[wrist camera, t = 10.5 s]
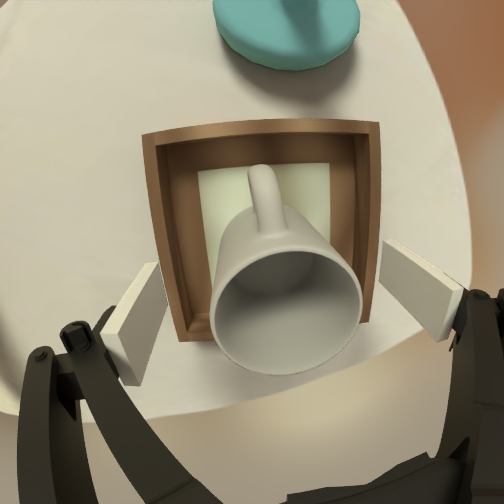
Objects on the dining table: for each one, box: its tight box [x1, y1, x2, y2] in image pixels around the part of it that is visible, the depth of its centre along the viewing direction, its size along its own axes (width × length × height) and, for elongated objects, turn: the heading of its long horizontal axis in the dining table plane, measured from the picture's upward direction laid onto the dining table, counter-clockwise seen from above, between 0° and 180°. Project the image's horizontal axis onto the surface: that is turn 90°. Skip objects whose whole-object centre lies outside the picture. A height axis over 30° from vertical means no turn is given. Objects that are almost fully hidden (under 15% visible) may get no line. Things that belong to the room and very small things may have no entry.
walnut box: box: [142, 119, 381, 342], centre depth 23 cm, size 18×18×4 cm
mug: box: [209, 164, 363, 375], centre depth 19 cm, size 12×8×11 cm
